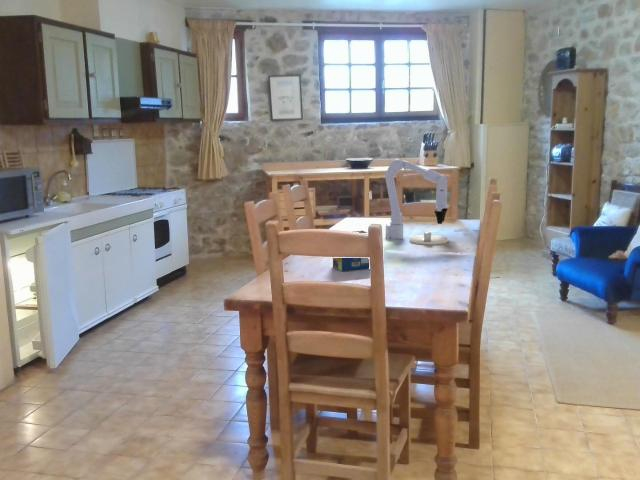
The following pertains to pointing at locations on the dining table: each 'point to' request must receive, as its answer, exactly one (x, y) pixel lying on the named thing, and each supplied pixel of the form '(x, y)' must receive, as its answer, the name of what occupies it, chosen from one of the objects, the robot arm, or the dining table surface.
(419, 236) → the dial
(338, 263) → the protein box
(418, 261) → the dining table surface
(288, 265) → the dining table surface
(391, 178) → the robot arm
